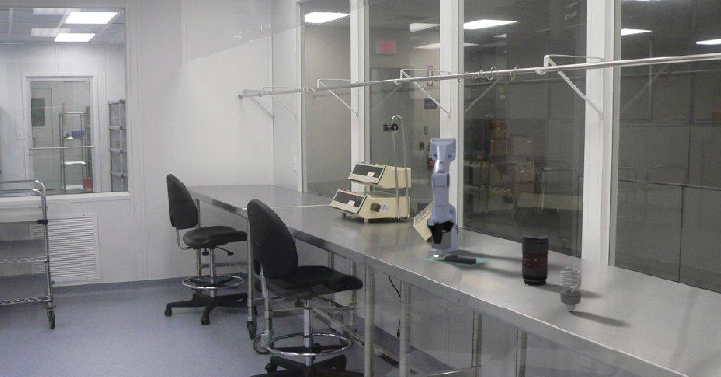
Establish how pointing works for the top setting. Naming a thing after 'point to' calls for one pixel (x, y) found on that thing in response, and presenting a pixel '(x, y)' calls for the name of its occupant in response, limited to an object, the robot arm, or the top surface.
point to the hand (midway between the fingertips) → (441, 242)
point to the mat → (478, 261)
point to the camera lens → (535, 259)
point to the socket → (443, 241)
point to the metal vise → (452, 257)
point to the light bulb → (570, 295)
